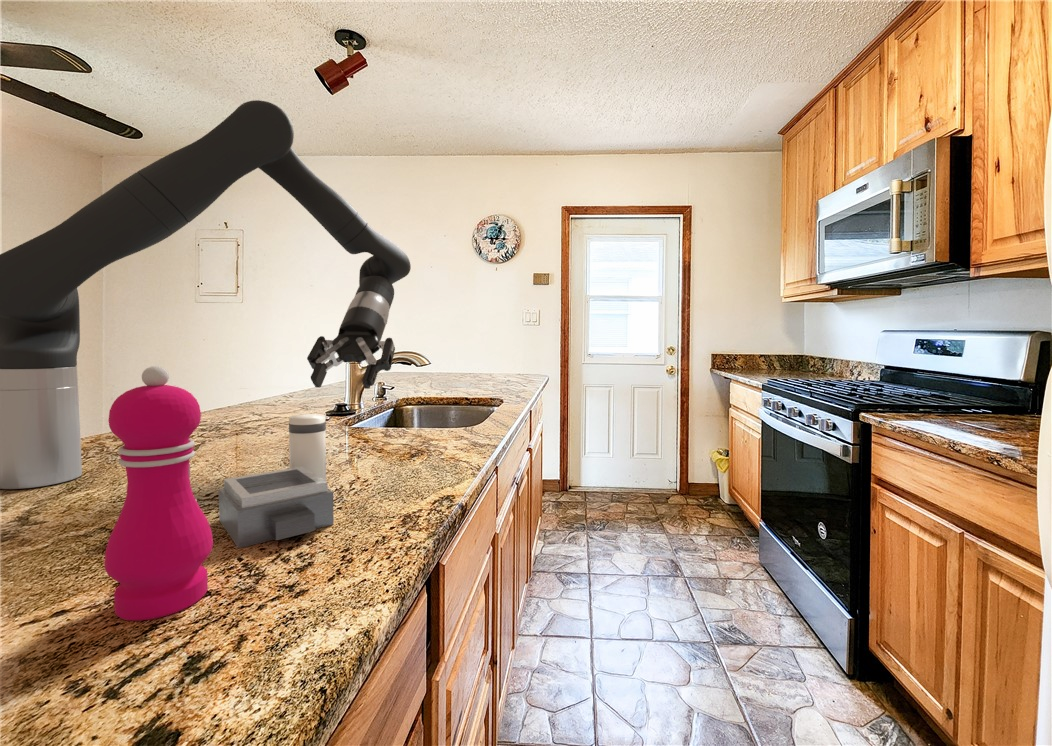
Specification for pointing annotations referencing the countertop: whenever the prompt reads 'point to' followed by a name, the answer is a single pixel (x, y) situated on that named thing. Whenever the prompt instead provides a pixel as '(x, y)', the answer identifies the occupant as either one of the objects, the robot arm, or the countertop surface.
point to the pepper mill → (157, 503)
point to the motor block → (274, 505)
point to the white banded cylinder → (308, 443)
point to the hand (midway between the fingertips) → (340, 385)
